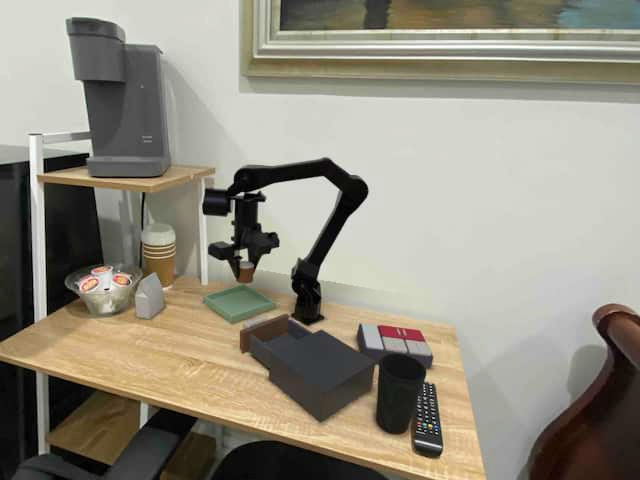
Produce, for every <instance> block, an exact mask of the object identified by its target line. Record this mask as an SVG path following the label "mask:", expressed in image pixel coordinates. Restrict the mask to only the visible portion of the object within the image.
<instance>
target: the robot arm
mask: <svg viewBox="0 0 640 480" xmlns="http://www.w3.org/2000/svg"><path fill="white" fill-rule="evenodd" d="M320 177H323V178H325V179H327V180H328V181H329V182H330V184H332V185H333V186H335V187H336V188H337V189H338V193H337V195H336V199H335V203H334V207H333V209H332V211H331V213H330V214H329V216H328V218H327V219H326V222H325V223H324V225H323V227H322V229H321V230H320V233H319V234H318V236H317V238H316V239H315V241H314V243H313V245H312V247H311V249H310V250H309V252H308V254H307V255H306V256H305V257H304V258H303V259H302V258H301V257H297V260H296V262H295V264H294V266H293V267H292V268H291V270H290V271H291V272H290V280H291V284H290V286H291V290H292V291H293V293H294V294H296V295H297V296H296V297H295V300H296V301H295V303H294V311H293V312H291V313H290V316H291V317H292V318H294V319H296V320H297V321H299V322H301V323H302V324H304V325H306V326H310V325H312V324H314V323H316V322H319V321H321V320H324V319H325V316H324V315H322V314H321V309H322V298H323V295H322V284H321V282H320V281H319V280H318V278H319V274H320V269H321V267H322V265H323V263H324V261H325V259H326V258H327V256H328V254H329V252H330V250H331V249H332V247H333V245H334V243H335V242H336V240H337V238H338V237H339V236H340V233H341V232H342V229H343V228H344V226H345V225H346V222H347V221H348V219H349V218H350V217H351V216H352V215H353V214H354V213H355V212H356V211H358V209H359V208H360V207H361V206H362V205H363V203H364V202H365V201H366V199H367V198H368V196H369V192H370V190H369V185H368V184H367V183H366V181H365V180H364V179H363V178H362V177H361V176H360V175H357V174H350V173H349V172H348V171H346V170H345V169H343V168H342V167H341V166H340V165H338V164H336V162H334V161H333V159H332V158H330V157H327V156H325V157H321V158H317V159H311V160H304V161H298V162H289V163H285V164H278V165H265V164H244V165H243V166H241V167H240V168H238V169H237V170H236V172H235V173H234V174H233V183H231V184H229V186H228V187H227V188H215V187H212V186H207V187H206V188H204V194H203V199H202V202H201V210H202V214H203V216H207V217H221V218H228V217H229V214H232V213H233V211H234V216H233V217H234V219H233V220H231V221H230V225H231V226H233V235H231V236H230V241H231V242H233V243H228V242H225V241H224V240H220V241H215V242H210V243H209V244H208V246H207V255H209V256H211V257H212V258H214V259H216V260H218V261H221V262H222V261H227V263H228V265H229V267H230V269H231V272H232V273H233V276H234V278H235V280H236V279H239V275H240V261H243V259H244V256H242V255H241V253H240V252H241V251H242V250H246V249H247V261H249V262H252V263H253V264H254V269H253V276H254V274H255V273H256V270H257V268H258V265H259V262H260V261H261V259H262V257H263V256H264V255H270V254H271V253H272V250H273V249H279V248H280V246H281V245H280V243H281V240H280V238H279V234H278V233H277V232H276V231H270V232H268V231H265V232H264V231H263V230H262V229H263V227H262V223H261V222H259V203H265V202H266V201H267V199H268V197H267V196H266V195H265V194H264V193H263V191H262V189H263V188H266V187H269V186H271V185H275V184H279V183H286V182H292V181H299V180H306V179H307V180H308V179H313V178H320ZM256 191H258V192H256ZM242 193H243V195H239V194H242Z"/></svg>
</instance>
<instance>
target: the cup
mask: <svg viewBox="0 0 640 480" xmlns="http://www.w3.org/2000/svg"><path fill="white" fill-rule="evenodd" d="M427 372H428V371H427V368H425V367H424V366H423V364H421V363H420V362H419V361H418V360H416V359H415V358H412V357H410V356H407V355H404V354H396V353H393V354H387V355H385V356H383V357H382V358H381V359H380V361H379V364H378V376H377V393H376V409H375V410H376V411H375V422H376V425H377V426H378V427H379V428H380V429H381V430H382V431H383V432H385V433H388V434H390V435H402V434H404V433H406V432H407V431H408V429H409V426H410V424H411V423H410V422H411V420H412V417H413V414H414V411H415V409H416V406H417V403H418V400H419V397H420V394H421V391H422V389H423V385H424V383H425V381H426V378H427Z"/></svg>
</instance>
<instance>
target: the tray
mask: <svg viewBox="0 0 640 480" xmlns="http://www.w3.org/2000/svg"><path fill="white" fill-rule="evenodd" d="M202 302H203V303H204V304H205V305H206V306H207V307H209V308H210V309H212V310H213V311H214V312H216V313H217V314H218V315H220V316H221V317H222V318H223V319H225V320H226V321H228V322H229V323H230V324H235V323H237V322H240V321H243V320H245V319H248V318H252V317H254V316H256V315H259V314H262V313H265V312H268V311H271V310H274V309H276V301H275V300H273V299H271V298H270V297H268V296H266V295H264V294H263V293H261V292H259V291H258V290H256V289H254V288H253V287H251V286H249V285H248V284H242V283H241V284H239V285H236V286H232V287H229V288H225V289H221V290H217V291H215V292H211V293H207V294H204V295H203V296H202Z"/></svg>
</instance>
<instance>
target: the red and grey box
mask: <svg viewBox="0 0 640 480" xmlns="http://www.w3.org/2000/svg"><path fill="white" fill-rule="evenodd" d="M356 339H357V343H358V350H359V352H360V353H362V354H364V355H365V356H367V357H369V358H370V359H372V360H374V361H375V362H376V364H375V365H379V361H380V359H381V358H382V357H383V356H385V355H387V354H393V353H396V354H404V355H407V356H410V357H412V358H415V359H416V360H418V361H419V362H420V363H421V364H423V366H424V367H425V369H429V370H430V369H432V365H433V361H434V356H433V353H432V351H431V349H430V347H429V345H428V342H427V341H426V339H425V337H424V335H423V333H422V331H421V330H420V329H415V328H407V327H399V326H391V325H386V324H385V325H383V324H378V325H377V324H371V323H359V324H358V329H357V334H356Z"/></svg>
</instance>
